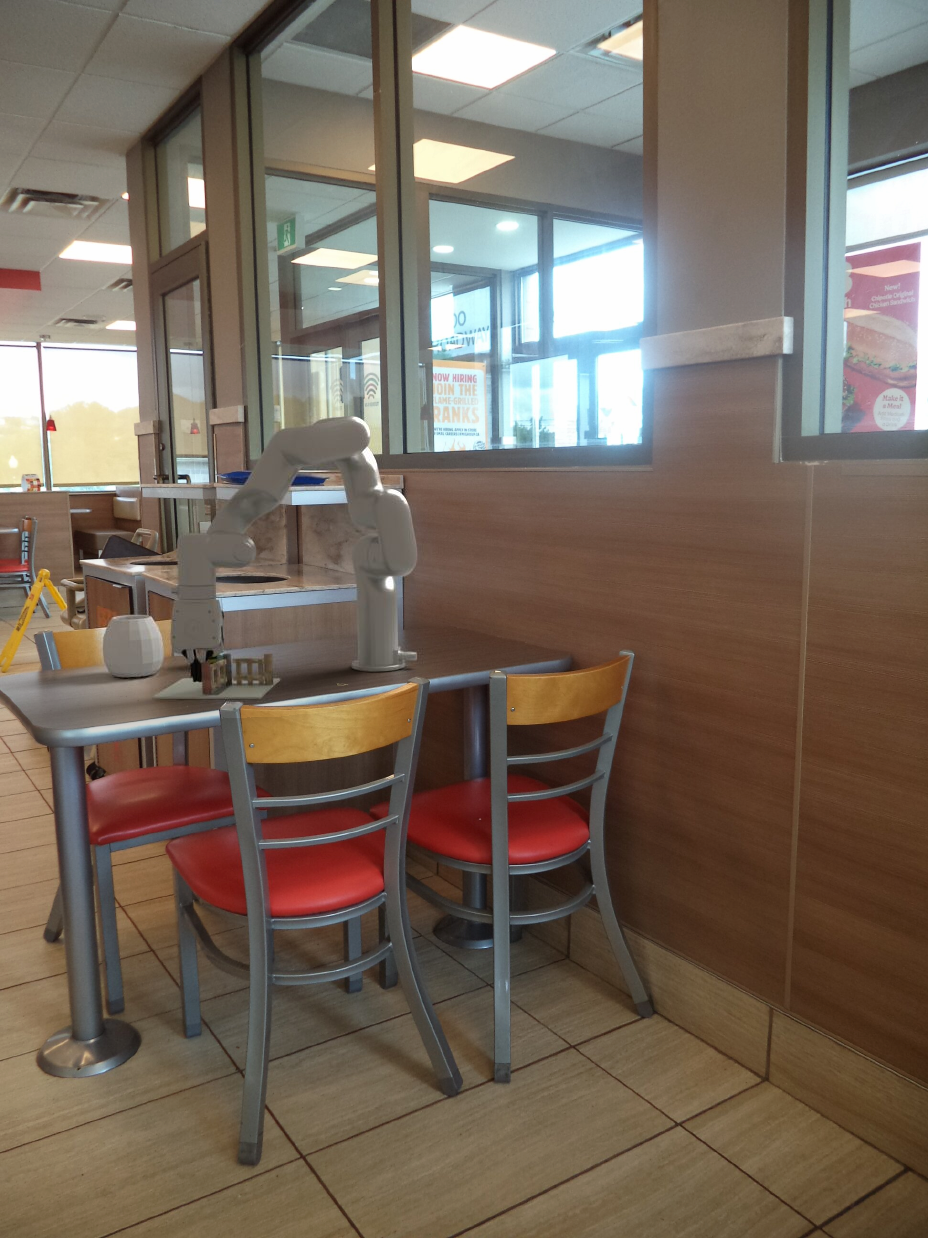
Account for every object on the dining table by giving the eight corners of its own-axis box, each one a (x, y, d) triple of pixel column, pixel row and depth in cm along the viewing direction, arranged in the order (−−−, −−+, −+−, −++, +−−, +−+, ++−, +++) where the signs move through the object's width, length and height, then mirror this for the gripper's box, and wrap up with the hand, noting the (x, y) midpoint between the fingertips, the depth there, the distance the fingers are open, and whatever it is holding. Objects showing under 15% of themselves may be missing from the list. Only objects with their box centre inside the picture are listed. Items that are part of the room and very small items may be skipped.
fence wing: (221, 684, 208) (220, 654, 207) (229, 684, 208) (228, 655, 207) (201, 694, 198) (199, 663, 197) (209, 694, 198) (208, 663, 197)
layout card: (280, 680, 215) (280, 678, 215) (259, 698, 196) (259, 696, 196) (182, 680, 216) (182, 678, 216) (152, 698, 197) (152, 696, 197)
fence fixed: (274, 685, 210) (273, 653, 209) (272, 687, 208) (271, 655, 207) (225, 685, 210) (223, 653, 209) (222, 687, 208) (221, 655, 207)
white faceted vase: (130, 683, 213) (126, 622, 211) (91, 677, 220) (88, 618, 218) (176, 673, 224) (174, 615, 222) (138, 667, 231) (135, 612, 229)
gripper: (155, 594, 196) (157, 683, 198) (228, 596, 195) (229, 685, 197) (167, 591, 203) (169, 677, 205) (238, 592, 203) (239, 678, 205)
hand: (199, 680), depth 201 cm, fingers closed
